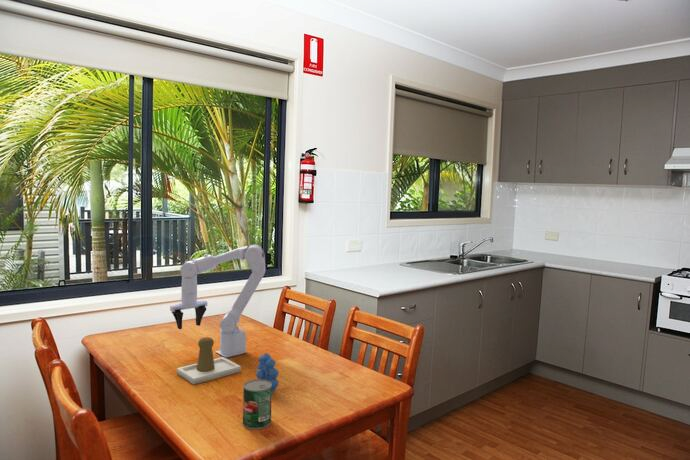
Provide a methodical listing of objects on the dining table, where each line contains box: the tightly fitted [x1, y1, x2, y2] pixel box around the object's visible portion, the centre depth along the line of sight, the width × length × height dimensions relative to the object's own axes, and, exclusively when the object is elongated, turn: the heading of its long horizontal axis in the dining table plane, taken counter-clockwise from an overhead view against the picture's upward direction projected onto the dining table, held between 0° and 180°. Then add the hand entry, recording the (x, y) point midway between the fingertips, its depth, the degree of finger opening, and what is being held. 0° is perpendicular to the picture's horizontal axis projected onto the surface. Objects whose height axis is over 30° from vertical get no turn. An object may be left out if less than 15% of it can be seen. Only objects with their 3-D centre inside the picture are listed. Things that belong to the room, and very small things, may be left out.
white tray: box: [176, 356, 242, 386], centre depth 172 cm, size 18×12×2 cm, turn 134°
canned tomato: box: [242, 378, 273, 430], centre depth 137 cm, size 8×8×11 cm
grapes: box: [255, 352, 280, 394], centre depth 159 cm, size 12×7×12 cm, turn 36°
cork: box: [197, 336, 215, 372], centre depth 173 cm, size 6×6×11 cm
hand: (189, 326), depth 191 cm, fingers open, 7 cm apart
